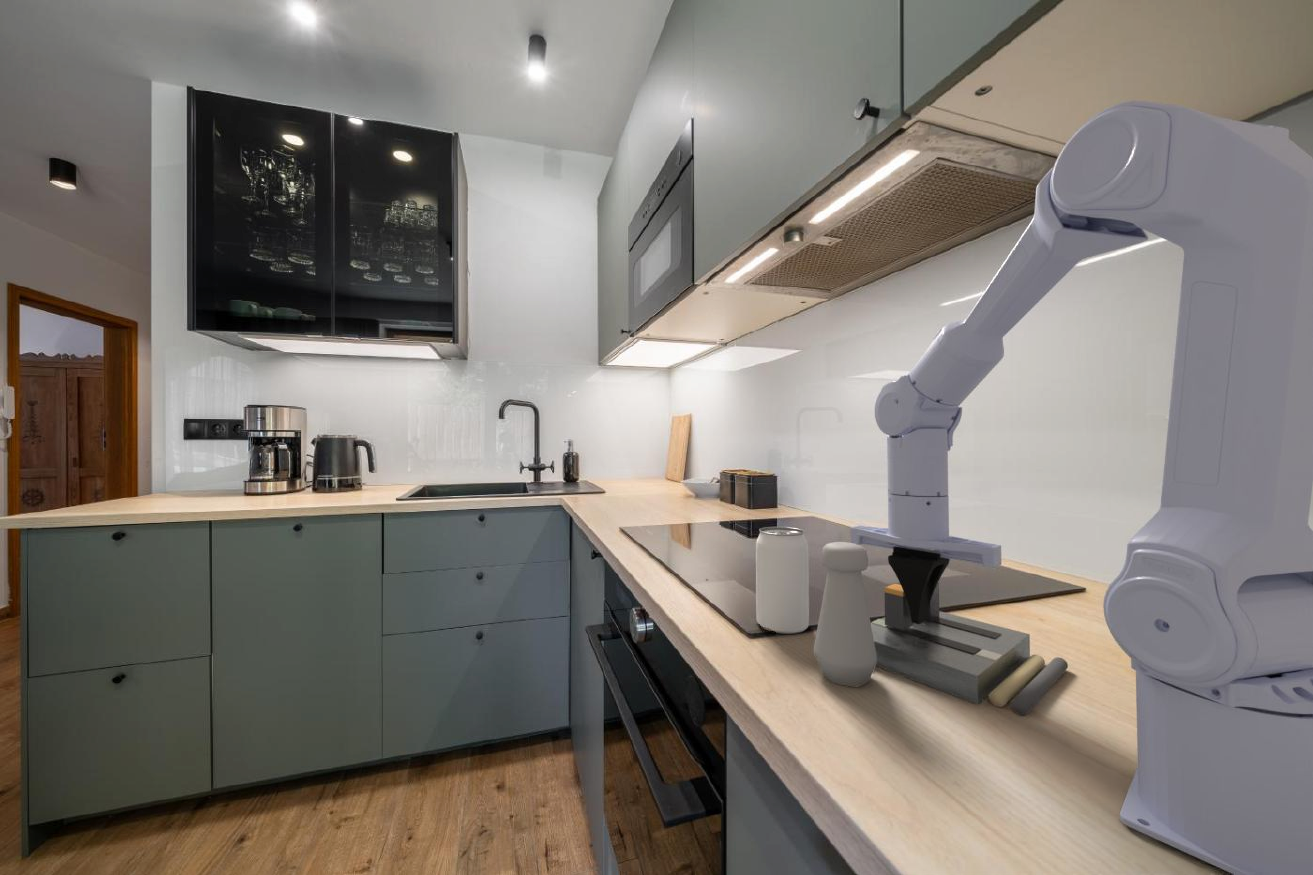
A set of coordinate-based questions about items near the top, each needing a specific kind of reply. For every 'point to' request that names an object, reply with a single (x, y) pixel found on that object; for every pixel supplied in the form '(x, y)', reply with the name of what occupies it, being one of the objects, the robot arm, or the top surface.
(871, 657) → the salt shaker
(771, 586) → the can
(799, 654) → the top surface
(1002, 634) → the dual slot slider
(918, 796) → the top surface
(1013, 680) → the pair of rollers
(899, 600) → the toggle
